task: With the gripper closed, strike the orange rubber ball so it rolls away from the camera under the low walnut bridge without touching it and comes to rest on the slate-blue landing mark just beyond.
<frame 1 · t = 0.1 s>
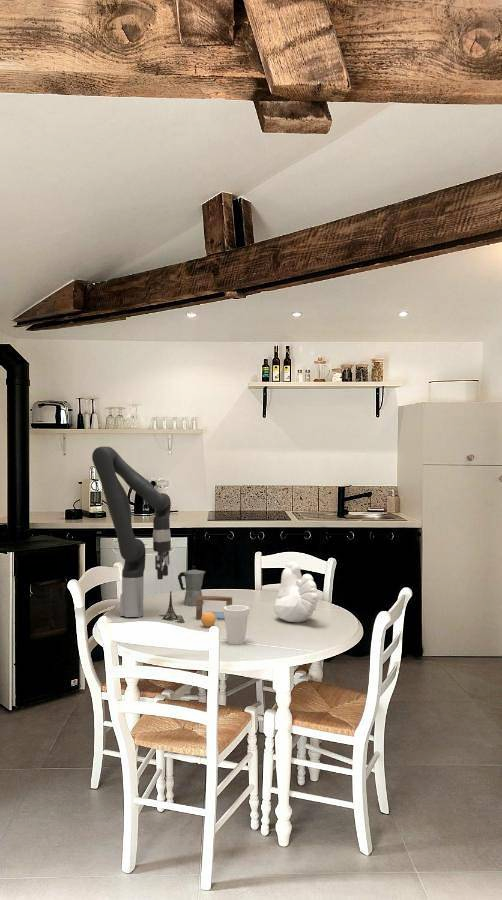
hand: (162, 577, 309), 17 cm above the table, tool pointing down, fingers open, 8 cm apart
ball: (208, 619, 294), on the table
bridge: (214, 619, 306), on the table
eiffel tower figurine: (171, 620, 307), on the table
foam cup: (236, 642, 271), on the table
coffeepot: (191, 604, 335), on the table
decorative rooster: (296, 622, 303), on the table
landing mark: (217, 615, 314), on the table
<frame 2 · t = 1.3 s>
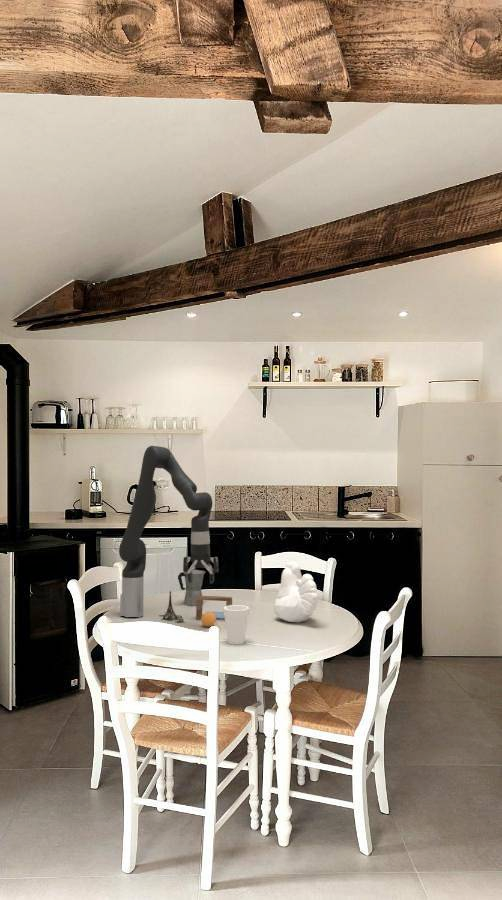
hand: (201, 582, 288), 19 cm above the table, tool pointing down, fingers open, 8 cm apart
nothing on the table moved.
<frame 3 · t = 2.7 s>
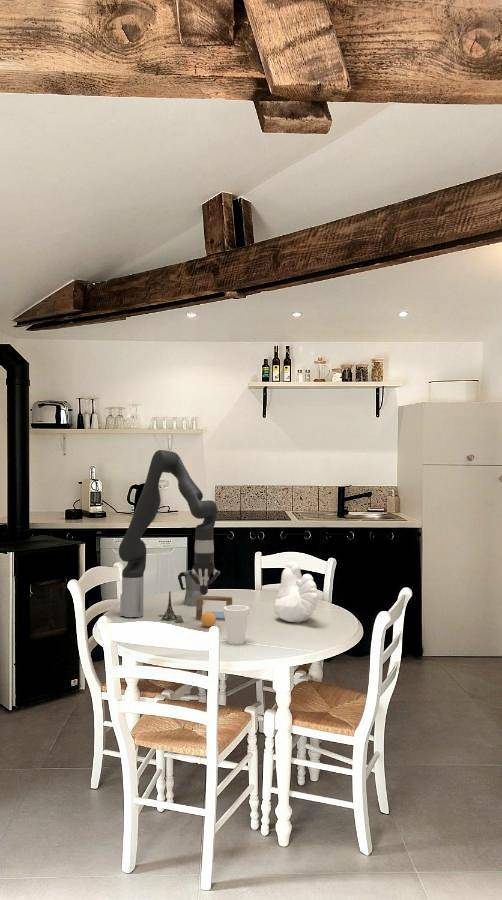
hand: (204, 594, 285), 15 cm above the table, tool pointing down, fingers closed
nothing on the table moved.
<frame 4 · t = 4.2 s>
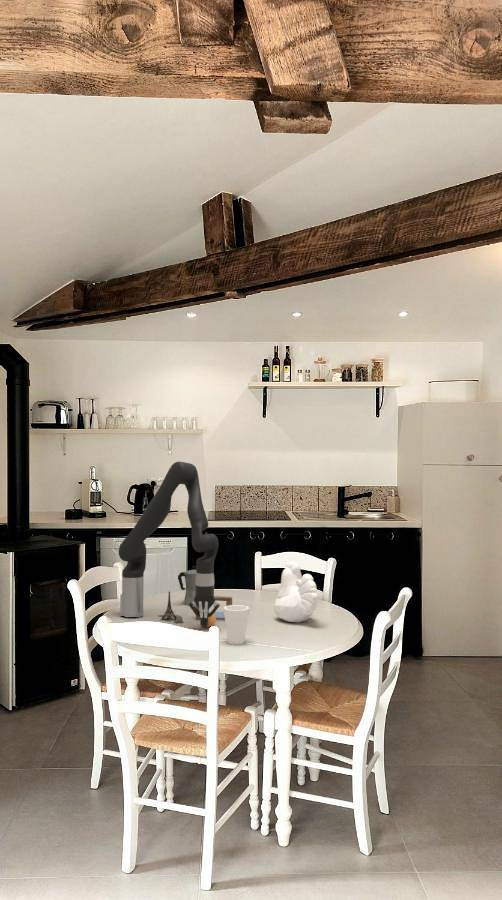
hand: (204, 626, 289), 1 cm above the table, tool pointing down, fingers closed
nothing on the table moved.
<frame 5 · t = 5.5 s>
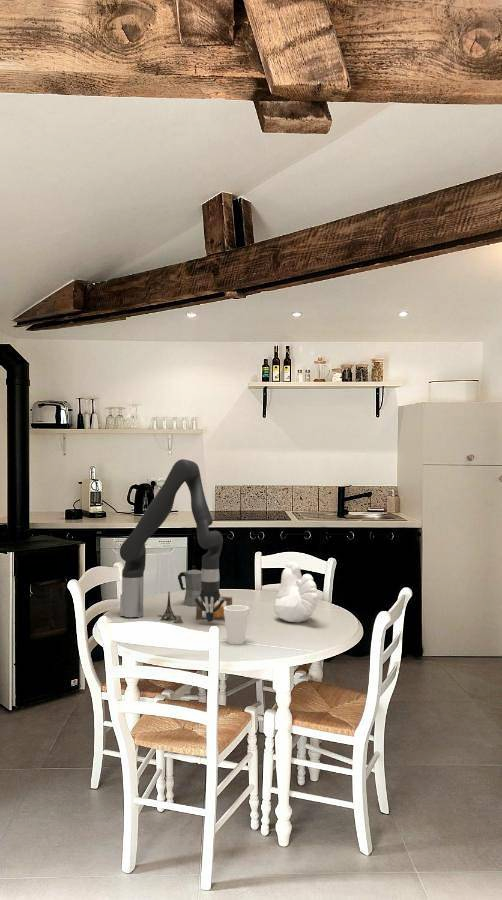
hand: (209, 621, 297), 2 cm above the table, tool pointing down, fingers closed
ball: (218, 611, 309), on the table
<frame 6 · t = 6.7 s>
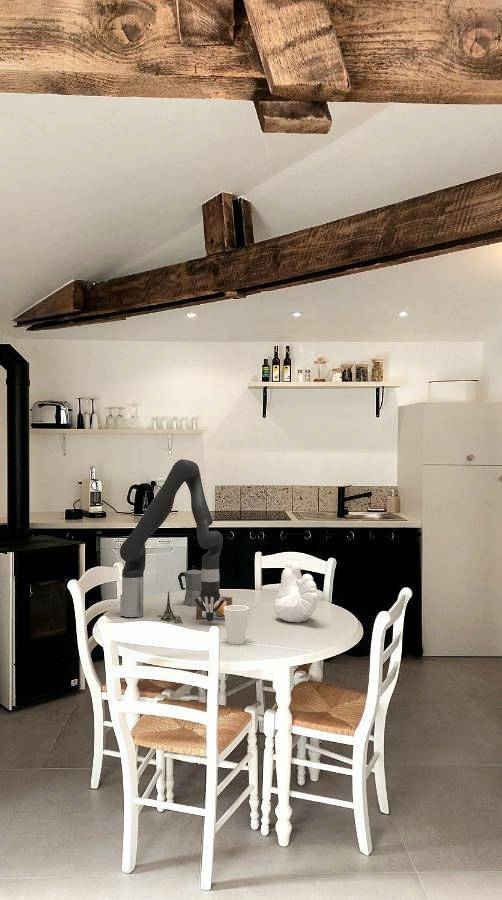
hand: (209, 621, 297), 2 cm above the table, tool pointing down, fingers closed
ball: (221, 609, 313), on the table
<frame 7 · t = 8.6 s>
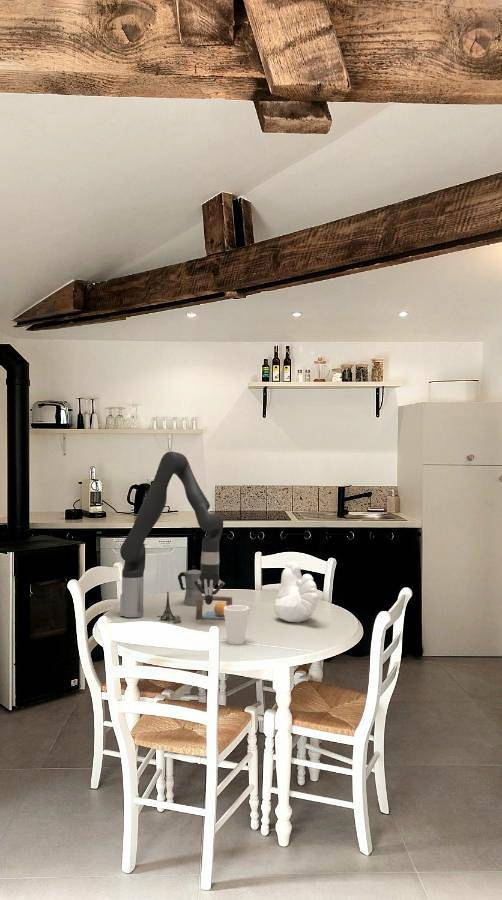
hand: (208, 604, 297), 9 cm above the table, tool pointing down, fingers closed
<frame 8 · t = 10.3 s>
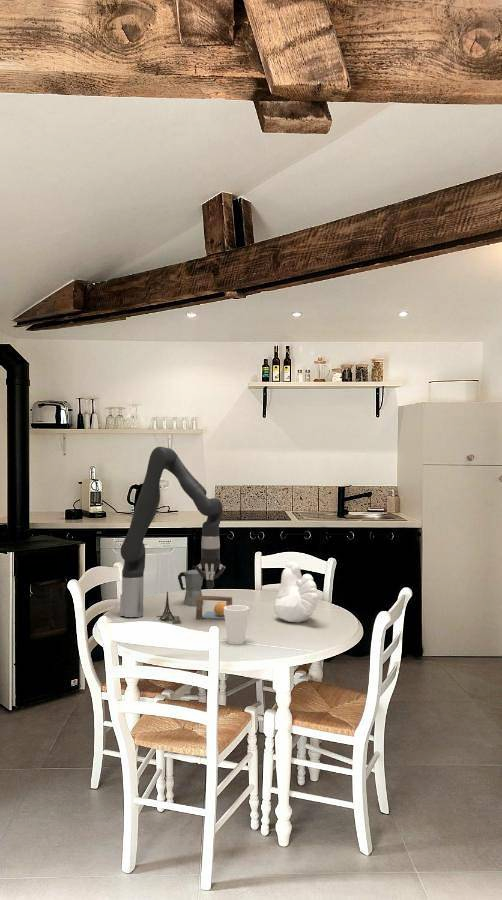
hand: (210, 588, 297), 15 cm above the table, tool pointing down, fingers closed
at the end: ball 2.0 cm from the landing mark (horizontally); ball never touched bridge; ball at rest at the end (0.0 cm/s) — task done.
